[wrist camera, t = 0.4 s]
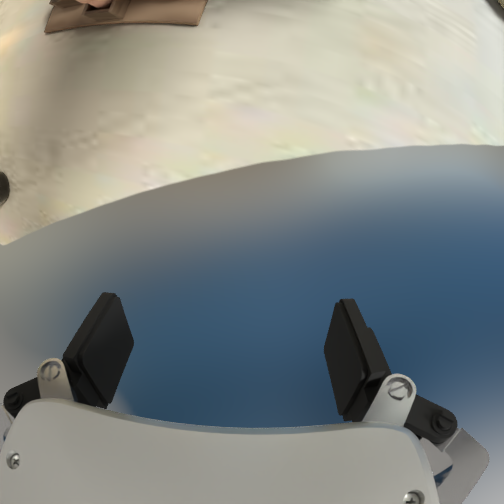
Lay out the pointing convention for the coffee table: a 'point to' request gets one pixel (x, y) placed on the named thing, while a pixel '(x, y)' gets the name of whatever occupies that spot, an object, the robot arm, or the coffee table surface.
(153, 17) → the button board
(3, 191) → the supplement bottle
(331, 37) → the coffee table surface
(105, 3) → the button terracotta
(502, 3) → the planter bowl
